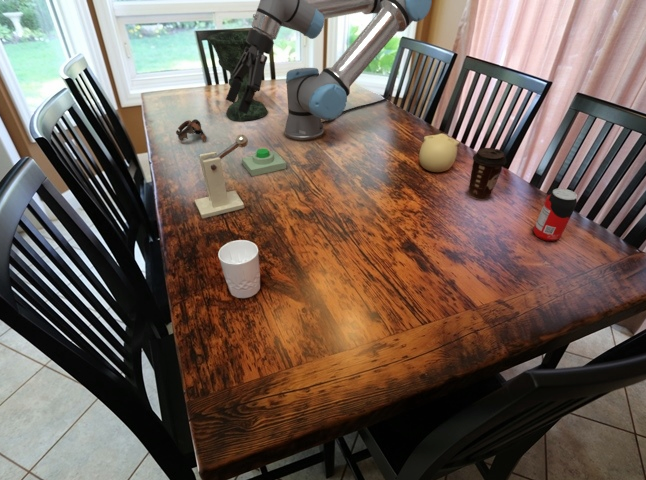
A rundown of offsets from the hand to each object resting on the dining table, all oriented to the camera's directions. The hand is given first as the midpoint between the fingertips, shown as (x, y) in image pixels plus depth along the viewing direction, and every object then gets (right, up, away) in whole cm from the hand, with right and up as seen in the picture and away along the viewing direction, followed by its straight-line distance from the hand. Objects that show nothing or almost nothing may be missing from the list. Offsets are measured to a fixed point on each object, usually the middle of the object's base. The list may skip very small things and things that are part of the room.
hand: (235, 106), depth 116 cm
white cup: (+10, -54, -34) cm, 64 cm away
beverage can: (+83, -41, -20) cm, 95 cm away
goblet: (-6, +18, +50) cm, 54 cm away
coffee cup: (+73, -28, -4) cm, 78 cm away
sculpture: (+64, -16, +9) cm, 67 cm away
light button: (+7, -13, +9) cm, 17 cm away
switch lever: (+2, -20, -15) cm, 25 cm away
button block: (+7, -15, +11) cm, 20 cm away
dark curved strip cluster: (-22, -1, +29) cm, 37 cm away
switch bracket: (-3, -32, -8) cm, 33 cm away
